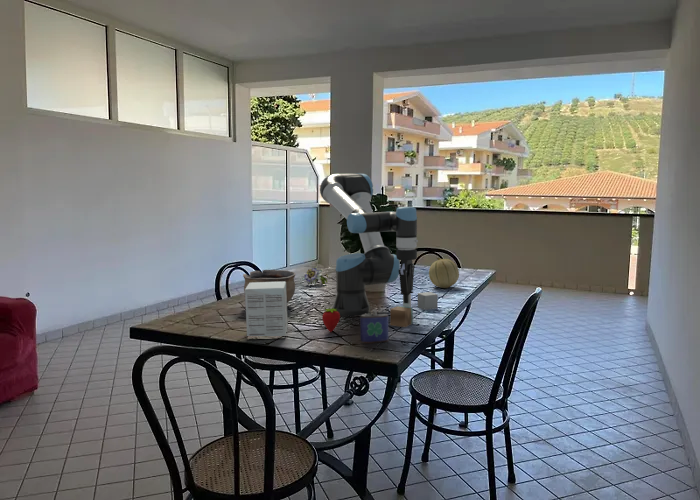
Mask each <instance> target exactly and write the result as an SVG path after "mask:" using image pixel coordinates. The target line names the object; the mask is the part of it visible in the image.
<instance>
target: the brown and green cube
mask: <svg viewBox="0 0 700 500" xmlns="http://www.w3.org/2000/svg"><path fill="white" fill-rule="evenodd" d="M413 312H414V310H413V307H412V306H411V307H403V305H402V306H401V305H397V306H394V307H392V308H390V310H389V315H390V316H389V317H390V319H389V321H390V322H389V324H390V326H392V327H393V326H394V327H398V328H400V327H401V328H407V327H409V326H411V325H413V320H414V318H413V315H414V314H413Z"/></svg>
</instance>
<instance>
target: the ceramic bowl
mask: <svg viewBox="0 0 700 500" xmlns="http://www.w3.org/2000/svg"><path fill="white" fill-rule="evenodd" d="M296 275H297V274H296V272H294V271H289V270H287V269H286V270H282V269H263V270H262V271H260V270H253V271H250V272H249V275H248V274H247V273H244V274H243V275H242V277H243V279H244V285H243V292H244V293H245V289H246V287H247V286H248V284H249V283H252V282H283V281H285V282H286V295H287V304H288V303H289V302H290V301H291V300H292V298H293V297H294V295H295V293H296V282H295V276H296Z"/></svg>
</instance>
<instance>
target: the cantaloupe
mask: <svg viewBox="0 0 700 500" xmlns="http://www.w3.org/2000/svg"><path fill="white" fill-rule="evenodd" d="M436 259H437V260H435V261H434V262H432V263H431V265H430V267H429V269H428V277H429V280H430V281H431V283H432V284H433V285H434V286H435V287H436V288H437V287H438V288H441V289H448V288H450V287H452V286H454V285H455V284H456V283H457V282H458V280H459V277H460V270H459V268H458V266H457V264H456V263H455V262H454V261H453V260H451V259H448V258H439V257H438V258H436Z"/></svg>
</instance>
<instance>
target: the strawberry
mask: <svg viewBox="0 0 700 500" xmlns="http://www.w3.org/2000/svg"><path fill="white" fill-rule="evenodd" d="M333 305H334V303H333V304H332V305H330V307H332V308H325V309H324V311H323V314H322V316H321V317H322V318H321V320H322V323H323V324H324V327H325V328H326V329H327V330H328V332H329V331H330V332H329V333H333V332H334V330H335V328H336V327H337V326H338V324H339V323H340V319H341V316H340V313H339V312H338V311H336V310H337V309H333ZM332 331H333V332H332Z"/></svg>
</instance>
